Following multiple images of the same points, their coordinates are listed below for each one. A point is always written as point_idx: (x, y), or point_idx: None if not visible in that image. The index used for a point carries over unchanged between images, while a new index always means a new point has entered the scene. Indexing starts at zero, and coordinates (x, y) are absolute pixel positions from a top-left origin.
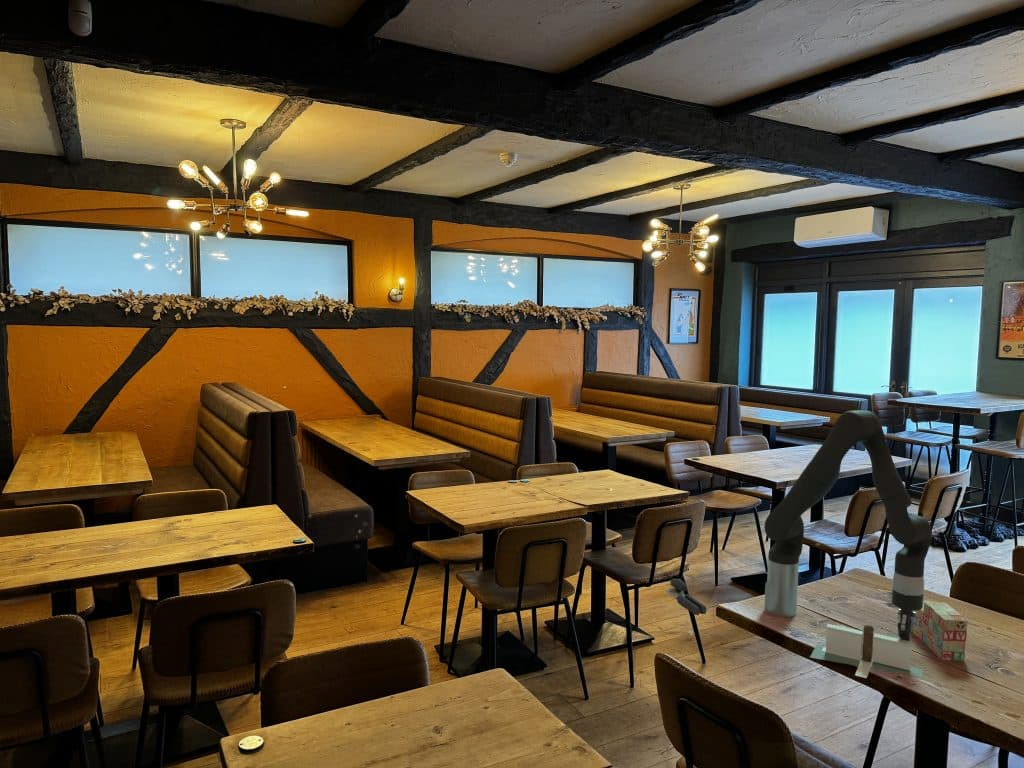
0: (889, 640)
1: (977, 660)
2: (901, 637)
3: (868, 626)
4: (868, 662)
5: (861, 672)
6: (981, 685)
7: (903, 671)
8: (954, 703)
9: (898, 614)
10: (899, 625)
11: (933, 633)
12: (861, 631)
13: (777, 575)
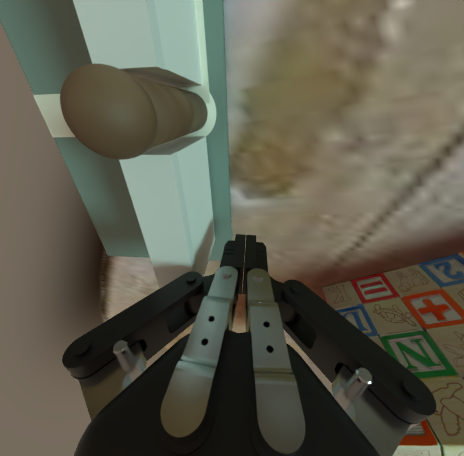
0: (144, 233)
1: None
2: (213, 274)
3: (68, 118)
4: None
5: None
6: (234, 330)
7: None
8: (127, 298)
9: (163, 416)
10: (67, 359)
11: (410, 324)
12: (146, 49)
13: None
